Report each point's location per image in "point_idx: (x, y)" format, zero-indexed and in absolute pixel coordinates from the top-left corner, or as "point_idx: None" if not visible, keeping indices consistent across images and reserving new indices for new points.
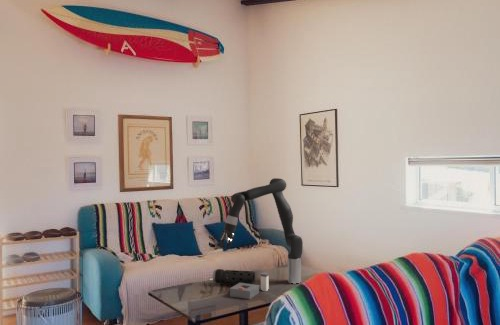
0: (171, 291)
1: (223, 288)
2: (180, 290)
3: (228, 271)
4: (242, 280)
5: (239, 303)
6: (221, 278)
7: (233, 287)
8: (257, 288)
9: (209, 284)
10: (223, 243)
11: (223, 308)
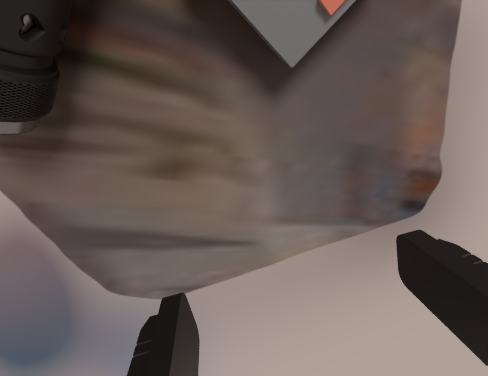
0: (143, 266)
1: (128, 58)
2: (135, 242)
3: (4, 11)
4: None
5: (398, 38)
6: (54, 70)
7: (284, 39)
8: None
9: None
10: (177, 347)
11: (406, 123)
